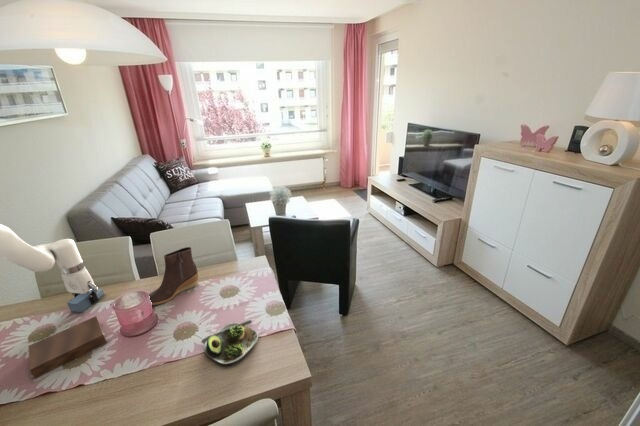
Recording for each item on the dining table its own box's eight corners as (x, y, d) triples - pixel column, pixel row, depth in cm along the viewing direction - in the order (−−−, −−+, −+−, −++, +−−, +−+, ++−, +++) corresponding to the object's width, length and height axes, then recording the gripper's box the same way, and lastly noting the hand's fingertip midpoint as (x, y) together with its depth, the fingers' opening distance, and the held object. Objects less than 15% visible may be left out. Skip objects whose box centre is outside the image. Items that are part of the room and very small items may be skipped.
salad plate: (237, 315, 117) (235, 306, 115) (270, 333, 108) (269, 323, 106) (195, 350, 102) (192, 340, 101) (229, 373, 93) (227, 363, 91)
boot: (142, 302, 128) (128, 263, 120) (196, 277, 143) (187, 241, 135) (148, 311, 122) (134, 271, 114) (204, 285, 137) (195, 248, 129)
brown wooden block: (34, 378, 95) (29, 370, 93) (33, 354, 104) (28, 345, 103) (107, 342, 107) (103, 334, 106) (99, 323, 117) (96, 315, 115)
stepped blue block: (81, 313, 123) (76, 303, 121) (71, 312, 124) (66, 302, 122) (105, 295, 134) (101, 286, 132) (95, 294, 135) (92, 285, 133)
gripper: (46, 271, 120) (63, 306, 127) (81, 274, 117) (97, 309, 124) (64, 261, 127) (79, 294, 134) (98, 263, 123) (111, 298, 130)
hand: (88, 301), depth 129 cm, fingers open, 6 cm apart
